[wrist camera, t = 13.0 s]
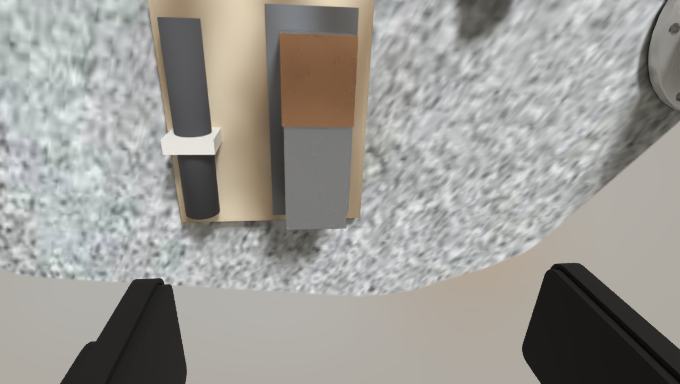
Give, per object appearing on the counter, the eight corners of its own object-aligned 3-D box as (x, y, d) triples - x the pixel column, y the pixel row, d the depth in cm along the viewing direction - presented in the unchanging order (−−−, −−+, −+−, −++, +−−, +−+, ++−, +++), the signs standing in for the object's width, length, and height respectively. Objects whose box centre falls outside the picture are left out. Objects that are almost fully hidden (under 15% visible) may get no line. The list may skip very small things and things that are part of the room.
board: (370, 0, 26) (374, -1, 25) (357, 211, 32) (360, 218, 31) (152, -10, 24) (145, -11, 23) (185, 215, 31) (181, 223, 30)
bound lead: (211, 18, 25) (201, 19, 21) (228, 201, 30) (221, 222, 27) (159, 16, 24) (140, 16, 21) (186, 202, 30) (174, 223, 26)
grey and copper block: (345, 32, 25) (358, 35, 21) (338, 196, 30) (348, 229, 26) (281, 29, 25) (279, 33, 20) (284, 197, 30) (284, 231, 25)
